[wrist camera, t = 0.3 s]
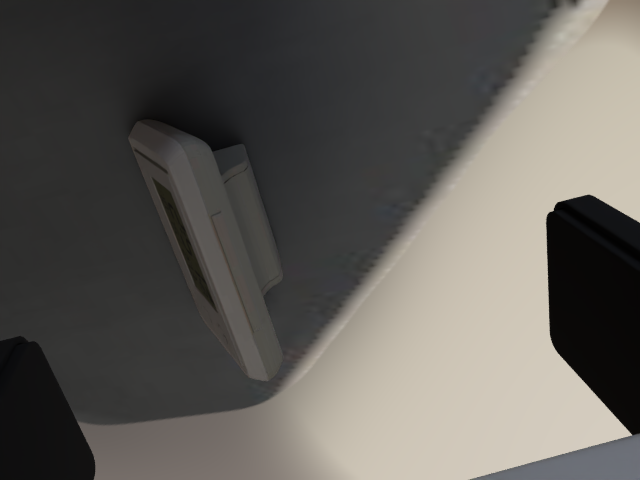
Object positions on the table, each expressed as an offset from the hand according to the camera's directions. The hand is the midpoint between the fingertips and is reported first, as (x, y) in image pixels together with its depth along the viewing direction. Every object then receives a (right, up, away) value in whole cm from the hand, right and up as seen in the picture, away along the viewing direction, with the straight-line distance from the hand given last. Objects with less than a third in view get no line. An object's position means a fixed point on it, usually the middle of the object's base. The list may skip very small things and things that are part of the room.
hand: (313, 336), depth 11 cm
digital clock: (-8, +4, +31) cm, 33 cm away
